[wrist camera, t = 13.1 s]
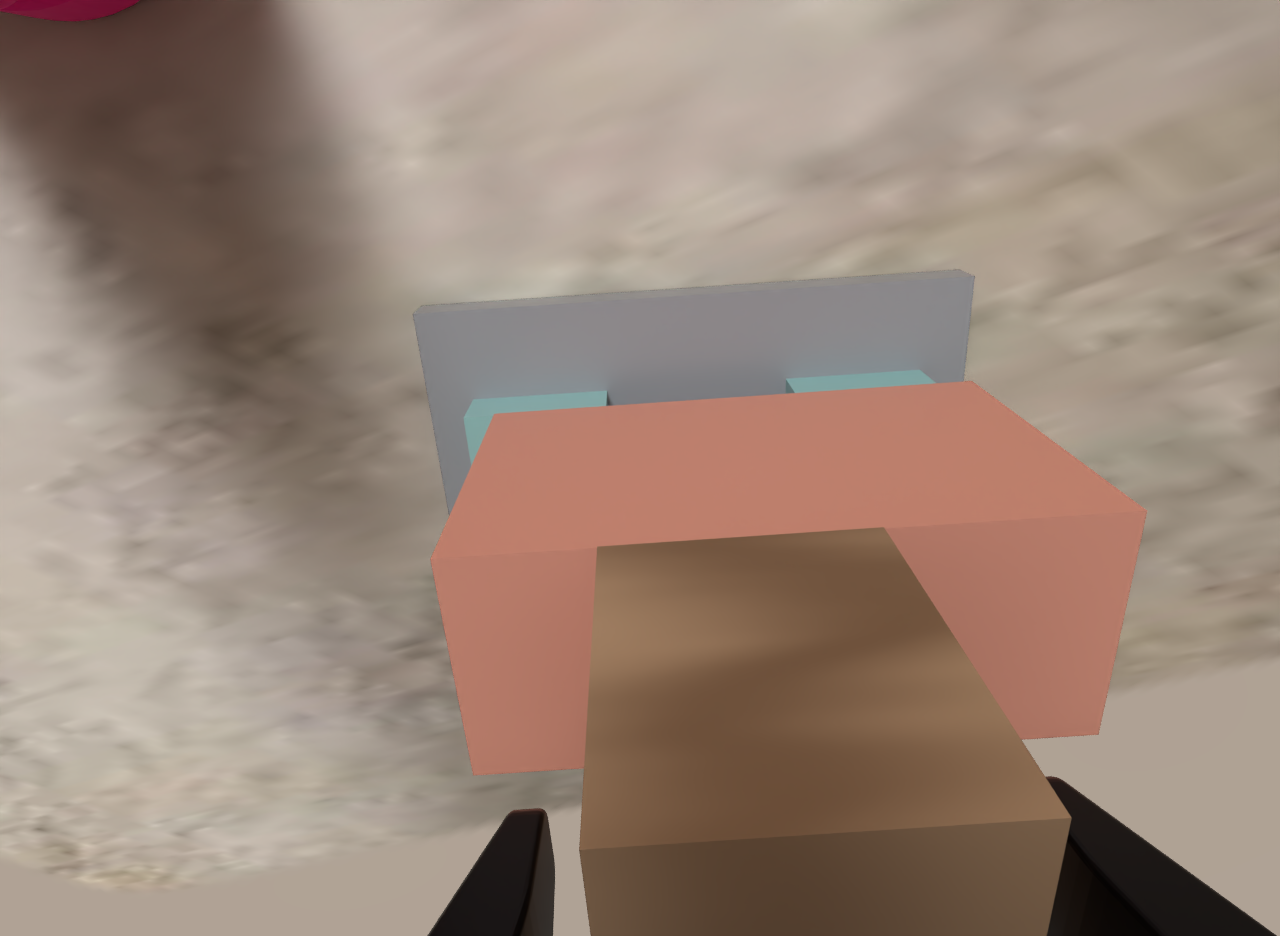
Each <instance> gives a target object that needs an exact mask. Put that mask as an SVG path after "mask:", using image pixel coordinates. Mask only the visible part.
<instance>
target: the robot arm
mask: <svg viewBox="0 0 1280 936" xmlns="http://www.w3.org/2000/svg"><path fill="white" fill-rule="evenodd" d="M1046 779H1047V780H1048V782H1049V784H1050V785H1051V787H1052V788H1053V790H1054V791H1055V793H1056V794H1057V796H1058V798H1059V799H1060V801H1061V802H1062V804H1063V805H1064V807H1065V808H1066V810H1067V811H1068V813H1069V815H1070V816H1071V818H1072V819H1071V823H1070V828H1069V833H1068V837H1067V842H1066V847H1065V852H1064V856H1063V861H1062V866H1061V871H1060V875H1059V880H1058V885H1057V889H1056V894H1055V899H1054V904H1053V908H1052V913H1051V918H1050V922H1049V927H1048V932H1047V936H1276V935H1275V934H1274V933H1272V932H1271V931H1269V930H1268V929H1267V928H1265V927H1264V926H1263V925H1261V924H1260V923H1259V922H1257V921H1256V920H1254V919H1253V918H1252V917H1250V916H1249V915H1248V914H1246V913H1245V912H1243V911H1242V910H1240V909H1239V908H1238V907H1236V906H1235V905H1234V904H1232V903H1231V902H1230V901H1228V900H1227V899H1225V898H1224V897H1223V896H1221V895H1220V894H1219V893H1217V892H1216V891H1215V890H1213V889H1212V888H1210V887H1209V886H1208V885H1206V884H1205V883H1203V882H1202V881H1201V880H1199V879H1198V878H1196V877H1195V876H1194V875H1193V874H1191V873H1190V872H1188V871H1187V870H1186V869H1184V868H1183V867H1182V866H1180V865H1179V864H1177V863H1176V862H1175V861H1173V860H1172V859H1170V858H1169V857H1168V856H1166V855H1165V854H1164V853H1162V852H1161V851H1159V850H1158V849H1157V848H1155V847H1154V846H1153V845H1151V844H1150V843H1148V842H1147V841H1146V840H1144V839H1143V838H1142V837H1140V836H1139V835H1137V834H1136V833H1135V832H1133V831H1132V830H1131V829H1129V828H1128V827H1126V826H1125V825H1124V824H1122V823H1121V822H1120V821H1118V820H1117V819H1115V818H1114V817H1113V816H1111V815H1110V814H1109V813H1107V812H1106V811H1104V810H1103V809H1101V808H1100V807H1099V806H1098V805H1096V804H1095V803H1093V802H1092V801H1091V800H1089V799H1088V798H1086V797H1085V796H1084V795H1082V794H1081V793H1080V792H1078V791H1077V790H1075V789H1074V788H1073V787H1071V786H1070V785H1069V784H1067V783H1066V782H1064V781H1063V780H1061V779H1059V778H1057V777H1051V776H1050V777H1046ZM554 889H555V866H554V855H553V849H552V843H551V836H550V829H549V822H548V816H547V813H546V812H545V810H543V809H540V808H538V809H522V810H513V811H512V812H510V813H509V814H508V815H507V816H506V818H505V819H504V821H503V822H502V824H501V825H500V827H499V828H498V830H497V831H496V833H495V834H494V836H493V837H492V839H491V841H490V842H489V843H488V845H487V846H486V848H485V849H484V851H483V852H482V854H481V855H480V857H479V859H478V860H477V862H476V863H475V865H474V866H473V868H472V869H471V871H470V872H469V874H468V875H467V877H466V878H465V880H464V881H463V883H462V884H461V886H460V887H459V889H458V890H457V892H456V893H455V895H454V896H453V898H452V900H451V901H450V903H449V904H448V905H447V907H446V909H445V910H444V912H443V913H442V915H441V916H440V918H439V919H438V921H437V922H436V924H435V925H434V927H433V928H432V930H431V931H430V933H429V934H428V936H553V918H554Z"/></svg>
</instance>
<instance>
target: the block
mask: <svg viewBox="0 0 1280 936" xmlns="http://www.w3.org/2000/svg"><path fill="white" fill-rule="evenodd" d="M1071 819H1072V818H1071V816H1070V815H1069V813H1068V811H1067V810H1066V808H1065V807H1064V805H1063V804H1062V802H1061V801H1060V799H1059V798H1058V796H1057V794H1056V793H1055V791H1054V790H1053V788H1052V787H1051V785H1050V784H1049V782H1048V780H1047V779H1046V777H1045V776H1044V774H1043V773H1042V771H1041V770H1040V768H1039V767H1038V765H1037V764H1036V762H1035V760H1034V759H1033V757H1032V756H1031V754H1030V753H1029V751H1028V750H1027V748H1026V746H1025V745H1024V743H1023V742H1022V740H1021V739H1020V737H1019V736H1018V734H1017V733H1016V731H1015V729H1014V728H1013V726H1012V725H1011V723H1010V722H1009V720H1008V719H1007V717H1006V715H1005V714H1004V712H1003V711H1002V709H1001V708H1000V706H999V705H998V703H997V702H996V700H995V698H994V697H993V695H992V694H991V692H990V691H989V689H988V688H987V686H986V685H985V683H984V681H983V680H982V678H981V677H980V675H979V674H978V672H977V671H976V669H975V668H974V666H973V664H972V663H971V661H970V660H969V658H968V657H967V655H966V654H965V652H964V650H963V649H962V647H961V646H960V644H959V643H958V641H957V640H956V638H955V637H954V635H953V633H952V632H951V630H950V629H949V627H948V626H947V624H946V623H945V621H944V620H943V618H942V616H941V615H940V613H939V612H938V610H937V609H936V607H935V606H934V604H933V602H932V601H931V599H930V598H929V596H928V595H927V593H926V592H925V590H924V589H923V587H922V585H921V584H920V582H919V581H918V579H917V578H916V576H915V575H914V573H913V572H912V570H911V568H910V567H909V565H908V564H907V562H906V561H905V559H904V558H903V556H902V555H901V553H900V551H899V550H898V548H897V547H896V545H895V544H894V542H893V541H892V539H891V537H890V536H889V534H888V533H887V531H886V530H885V528H884V527H879V528H864V529H849V530H835V531H820V532H805V533H790V534H776V535H761V536H746V537H731V538H716V539H702V540H687V541H672V542H657V543H643V544H628V545H613V546H598V547H597V558H596V575H595V592H594V609H593V626H592V643H591V660H590V677H589V694H588V711H587V728H586V745H585V762H584V779H583V796H582V814H581V830H580V847H579V851H580V858H581V866H582V873H583V881H584V888H585V896H586V903H587V910H588V918H589V926H590V933H591V936H1047V932H1048V927H1049V922H1050V918H1051V913H1052V908H1053V904H1054V899H1055V894H1056V889H1057V885H1058V880H1059V875H1060V871H1061V866H1062V861H1063V856H1064V852H1065V847H1066V842H1067V837H1068V833H1069V828H1070V823H1071Z"/></svg>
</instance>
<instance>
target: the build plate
mask: <svg viewBox="0 0 1280 936" xmlns="http://www.w3.org/2000/svg"><path fill="white" fill-rule="evenodd" d="M974 279H975V276H973V275H971V274H969V273H966V272H964V271H962V270H948V271H933V272H918V273H903V274H888V275H873V276H859V277H844V278H829V279H814V280H799V281H784V282H769V283H754V284H739V285H724V286H709V287H695V288H680V289H665V290H650V291H635V292H620V293H605V294H590V295H575V296H560V297H546V298H531V299H516V300H501V301H486V302H471V303H456V304H441V305H426V306H421V307H420V308H419V309H418V310H417V311H415V312H414V313H413V317H414V323H415V328H416V334H417V339H418V345H419V351H420V356H421V362H422V367H423V373H424V378H425V384H426V389H427V395H428V400H429V406H430V412H431V417H432V423H433V428H434V434H435V439H436V445H437V450H438V456H439V462H440V467H441V473H442V478H443V484H444V489H445V495H446V500H447V506H448V512H449V516H450V513H451V511H452V509H453V507H454V504H455V502H456V500H457V497H458V495H459V493H460V491H461V488H462V486H463V484H464V481H465V479H466V477H467V475H468V472H469V470H470V468H471V465H472V463H473V461H474V459H475V456H476V454H477V452H478V450H479V447H480V445H481V443H482V440H483V438H484V436H485V434H486V431H487V429H488V427H489V424H490V422H491V420H492V418H493V415H494V414H497V413H512V412H526V411H541V410H555V409H570V408H584V407H599V406H614V405H628V404H643V403H657V402H672V401H686V400H701V399H716V398H730V397H745V396H759V395H774V394H788V393H803V392H818V391H832V390H847V389H861V388H876V387H890V386H905V385H920V384H934V383H949V382H963V381H964V372H965V362H966V353H967V344H968V334H969V325H970V316H971V306H972V297H973V288H974Z"/></svg>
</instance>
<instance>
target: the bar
mask: <svg viewBox="0 0 1280 936" xmlns="http://www.w3.org/2000/svg"><path fill="white" fill-rule="evenodd" d="M1146 514H1147V510H1145V509H1144V508H1143V507H1141V506H1140V505H1139V504H1137V503H1136V502H1134V501H1133V500H1132V499H1130V498H1129V497H1128V496H1126V495H1125V494H1124V493H1122V492H1121V491H1120V490H1118V489H1117V488H1116V487H1114V486H1113V485H1112V484H1110V483H1109V482H1107V481H1106V480H1105V479H1103V478H1102V477H1101V476H1099V475H1098V474H1097V473H1095V472H1094V471H1093V470H1091V469H1090V468H1089V467H1087V466H1086V465H1085V464H1083V463H1082V462H1080V461H1079V460H1078V459H1076V458H1075V457H1074V456H1072V455H1071V454H1070V453H1068V452H1067V451H1066V450H1064V449H1063V448H1062V447H1060V446H1059V445H1058V444H1056V443H1055V442H1053V441H1052V440H1051V439H1049V438H1048V437H1047V436H1045V435H1044V434H1043V433H1041V432H1040V431H1039V430H1037V429H1036V428H1035V427H1033V426H1032V425H1031V424H1029V423H1028V422H1026V421H1025V420H1024V419H1022V418H1021V417H1020V416H1018V415H1017V414H1016V413H1014V412H1013V411H1012V410H1010V409H1009V408H1008V407H1006V406H1005V405H1004V404H1002V403H1001V402H999V401H998V400H997V399H995V398H994V397H993V396H991V395H990V394H989V393H987V392H986V391H985V390H983V389H982V388H981V387H979V386H978V385H977V384H975V383H974V382H972V381H963V382H949V383H934V384H920V385H905V386H890V387H876V388H861V389H847V390H832V391H818V392H803V393H788V394H774V395H759V396H745V397H730V398H716V399H701V400H686V401H672V402H657V403H643V404H628V405H614V406H599V407H584V408H570V409H555V410H541V411H526V412H512V413H497V414H494V415H493V418H492V420H491V422H490V424H489V427H488V429H487V431H486V434H485V436H484V438H483V440H482V443H481V445H480V447H479V450H478V452H477V454H476V456H475V459H474V461H473V463H472V465H471V468H470V470H469V472H468V475H467V477H466V479H465V481H464V484H463V486H462V488H461V491H460V493H459V495H458V497H457V500H456V502H455V504H454V507H453V509H452V511H451V513H450V516H449V518H448V520H447V522H446V525H445V527H444V529H443V532H442V534H441V536H440V538H439V541H438V543H437V545H436V548H435V550H434V552H433V554H432V557H431V559H430V560H431V565H432V570H433V575H434V580H435V585H436V590H437V595H438V600H439V605H440V610H441V615H442V620H443V625H444V630H445V635H446V640H447V645H448V650H449V655H450V660H451V665H452V670H453V675H454V680H455V685H456V690H457V695H458V701H459V706H460V711H461V716H462V721H463V726H464V731H465V736H466V741H467V746H468V751H469V756H470V761H471V766H472V771H473V775H487V774H503V773H518V772H533V771H548V770H564V769H579V768H584V762H585V745H586V728H587V711H588V694H589V677H590V660H591V643H592V626H593V609H594V592H595V575H596V558H597V547H598V546H613V545H628V544H643V543H657V542H672V541H687V540H702V539H716V538H731V537H746V536H761V535H776V534H790V533H805V532H820V531H835V530H849V529H864V528H879V527H884V528H885V530H886V531H887V533H888V534H889V536H890V537H891V539H892V541H893V542H894V544H895V545H896V547H897V548H898V550H899V551H900V553H901V555H902V556H903V558H904V559H905V561H906V562H907V564H908V565H909V567H910V568H911V570H912V572H913V573H914V575H915V576H916V578H917V579H918V581H919V582H920V584H921V585H922V587H923V589H924V590H925V592H926V593H927V595H928V596H929V598H930V599H931V601H932V602H933V604H934V606H935V607H936V609H937V610H938V612H939V613H940V615H941V616H942V618H943V620H944V621H945V623H946V624H947V626H948V627H949V629H950V630H951V632H952V633H953V635H954V637H955V638H956V640H957V641H958V643H959V644H960V646H961V647H962V649H963V650H964V652H965V654H966V655H967V657H968V658H969V660H970V661H971V663H972V664H973V666H974V668H975V669H976V671H977V672H978V674H979V675H980V677H981V678H982V680H983V681H984V683H985V685H986V686H987V688H988V689H989V691H990V692H991V694H992V695H993V697H994V698H995V700H996V702H997V703H998V705H999V706H1000V708H1001V709H1002V711H1003V712H1004V714H1005V715H1006V717H1007V719H1008V720H1009V722H1010V723H1011V725H1012V726H1013V728H1014V729H1015V731H1016V733H1017V734H1018V736H1019V737H1020V739H1021V740H1022V739H1036V738H1037V739H1038V738H1053V737H1068V736H1084V735H1098V734H1099V730H1100V725H1101V720H1102V716H1103V711H1104V707H1105V702H1106V698H1107V693H1108V688H1109V684H1110V679H1111V675H1112V670H1113V665H1114V661H1115V656H1116V652H1117V647H1118V643H1119V638H1120V633H1121V629H1122V624H1123V620H1124V615H1125V610H1126V606H1127V601H1128V597H1129V592H1130V588H1131V583H1132V578H1133V574H1134V569H1135V565H1136V560H1137V555H1138V551H1139V546H1140V542H1141V537H1142V533H1143V528H1144V523H1145V519H1146Z"/></svg>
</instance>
